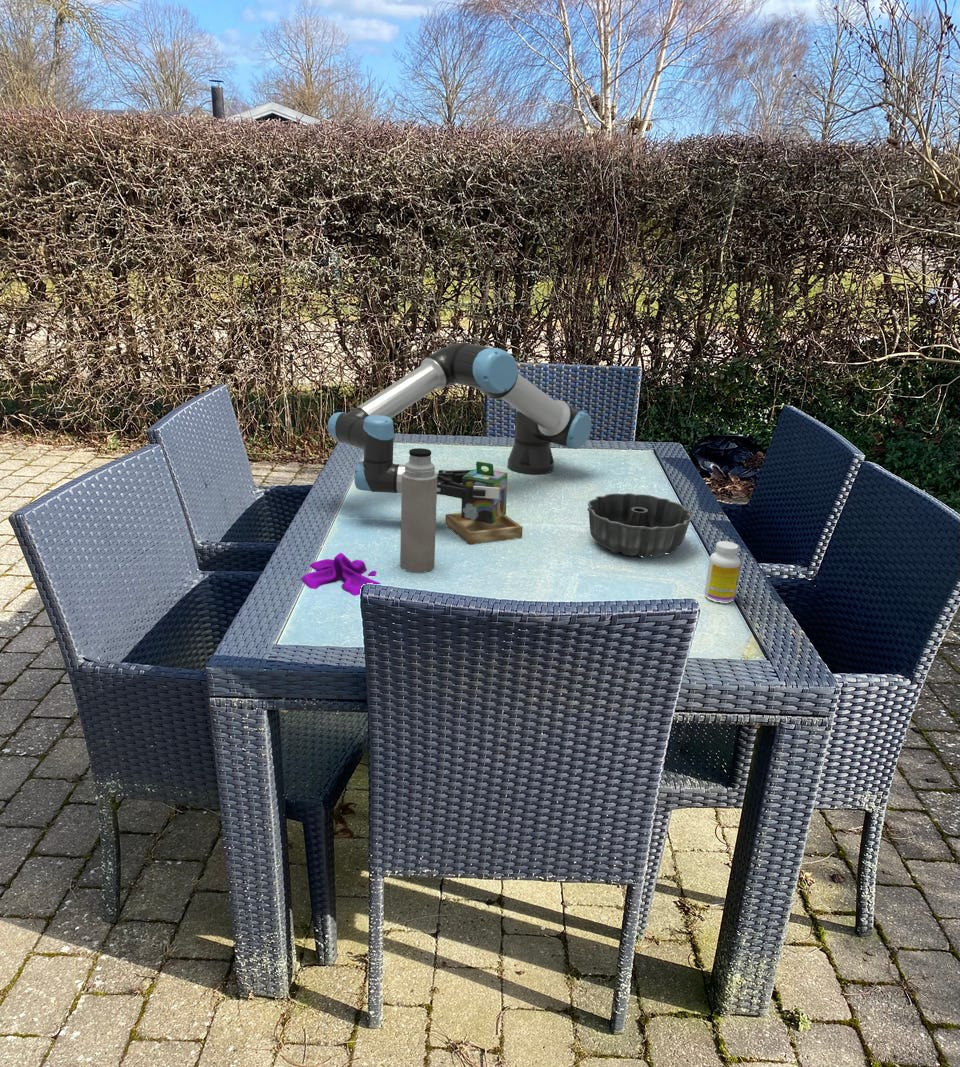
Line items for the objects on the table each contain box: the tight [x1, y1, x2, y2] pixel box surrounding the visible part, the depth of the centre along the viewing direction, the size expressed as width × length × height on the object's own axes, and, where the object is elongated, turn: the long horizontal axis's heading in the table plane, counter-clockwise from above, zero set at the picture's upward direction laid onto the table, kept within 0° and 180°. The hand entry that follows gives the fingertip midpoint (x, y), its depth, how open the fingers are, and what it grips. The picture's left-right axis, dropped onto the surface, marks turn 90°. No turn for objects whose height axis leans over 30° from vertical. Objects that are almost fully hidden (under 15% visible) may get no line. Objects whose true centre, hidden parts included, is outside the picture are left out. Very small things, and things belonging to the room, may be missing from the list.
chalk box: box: [460, 460, 509, 524], centre depth 229 cm, size 9×9×15 cm
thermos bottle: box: [399, 447, 438, 573], centre depth 203 cm, size 8×8×28 cm
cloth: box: [301, 552, 381, 596], centre depth 201 cm, size 22×19×6 cm
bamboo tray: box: [444, 512, 524, 545], centre depth 232 cm, size 15×15×3 cm
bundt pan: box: [587, 492, 693, 558], centre depth 227 cm, size 26×26×10 cm
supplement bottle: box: [704, 540, 741, 602], centre depth 197 cm, size 7×7×13 cm
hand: (500, 486), depth 228 cm, fingers closed on chalk box, 11 cm apart
